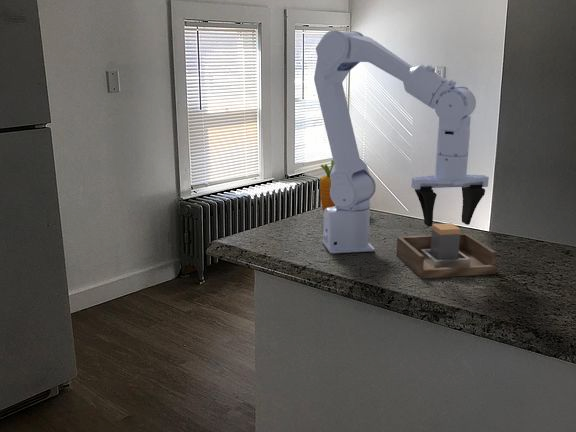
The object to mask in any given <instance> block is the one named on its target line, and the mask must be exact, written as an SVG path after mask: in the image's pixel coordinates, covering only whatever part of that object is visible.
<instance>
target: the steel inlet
mask: <svg viewBox="0 0 576 432" xmlns="http://www.w3.org/2000/svg"><path fill="white" fill-rule="evenodd" d="M430 252H431V249H421V251H420V253H421V254H422V255H423V256H424V260H425V261H426V262H427V263H428V264H429V265H431V266H432V267H433V268H448V267H464V266H470V263H471V259H470V258H469V257H467V256H466V255H464V254H463V253H462V252H460V251H459V255H458V259H445V260H436V259H435V258H434V257H432V256H431V255H430Z"/></svg>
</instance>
